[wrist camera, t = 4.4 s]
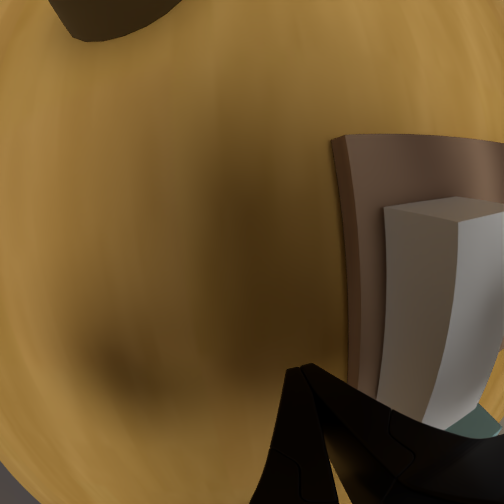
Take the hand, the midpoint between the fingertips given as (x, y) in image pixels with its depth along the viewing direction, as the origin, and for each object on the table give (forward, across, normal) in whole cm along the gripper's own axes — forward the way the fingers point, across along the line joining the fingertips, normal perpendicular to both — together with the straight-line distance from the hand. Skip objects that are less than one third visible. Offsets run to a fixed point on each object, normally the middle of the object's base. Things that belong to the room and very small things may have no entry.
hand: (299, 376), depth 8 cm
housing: (+1, -6, 0) cm, 6 cm away
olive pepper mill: (+3, +4, -16) cm, 17 cm away
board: (+3, -13, 0) cm, 13 cm away
